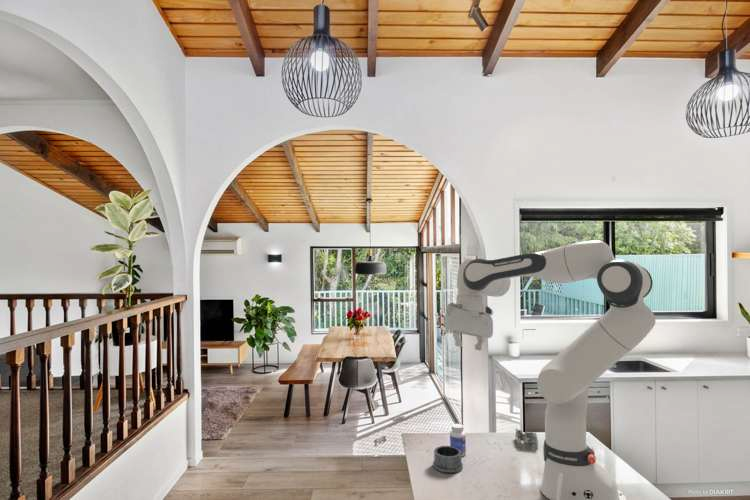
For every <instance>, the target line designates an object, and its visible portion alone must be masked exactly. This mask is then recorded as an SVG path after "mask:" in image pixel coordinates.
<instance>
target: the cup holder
mask: <svg viewBox="0 0 750 500" xmlns="http://www.w3.org/2000/svg"><path fill="white" fill-rule="evenodd" d="M433 457H434V458H433V459H434V460H433V461H432V467H433V469H434V470H435V471H436V472H439V473H441V474H447V475H454V474H458V473H460V472H462V471H463V469H464V467H463V462H462V456H461V451H460V449H458V448H456V447H452V446H450V445H441V446H438V447H436V448H435V449H434V450H433Z"/></svg>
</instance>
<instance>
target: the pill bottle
mask: <svg viewBox="0 0 750 500" xmlns="http://www.w3.org/2000/svg"><path fill="white" fill-rule="evenodd" d="M466 439H467V438H466V432H465V430H464V425H463V424H461V423H453V424H451V431H450V432H449V444H450V445H449V446H452V447H456V448H458V449H460V451H461V457H464V456H465V455H466V454H467V452H466V451H467V446H466V445H467V444H466V443H467V442H466Z"/></svg>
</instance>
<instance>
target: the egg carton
mask: <svg viewBox="0 0 750 500" xmlns="http://www.w3.org/2000/svg"><path fill="white" fill-rule="evenodd" d="M515 440H516V444H517V448H518V447H519V448H518V449H522V450H524V449H525V450H526V449H530V450H531V451H535V450H539V445H538V442H539V440H538V435H537V432H535V431H534V432H531V431H529V432H528V431H525V433H523V432H522V430H521V429H518V428H517V427H516V428H515Z"/></svg>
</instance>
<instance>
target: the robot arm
mask: <svg viewBox="0 0 750 500" xmlns="http://www.w3.org/2000/svg"><path fill="white" fill-rule="evenodd" d="M518 277H528V278H535V279H538V280H542V281H544V282H548V283H550V284H570V283H574V282H575V283H576V282H579V281H583V280H589V279H594V280H596V283H597V285H598V287H599V290H600V291H601V293H602V294H603V296H604V298H605V300H606V301H607V303H608V304H609V305H610V308H609V309H608V310H607V311H606V312H605V313H604V314H603V315H601V316H600V318H597V320H596V321H595V322H594V323H592V324H591V325H590V326H589V327H588V328H586V330H585V331H584V332H582V333H581V334H580V335H579V336H578V337H576V338H575V340H573V341H572V342H571V343H569V345H567V346H566V347H565V348H564V349H562V351H560V352H559V353H558V354H557V355H556V356H555V357H553V358H552V359H551V360H550V361H548V363H546V364H545V366H543V367H542V369H540V372H539V374H538V375H537V380H536V381H537V382H536V386H537V390H538V392H539V394H540V395H541V396H542V398H544V399H545V400H546V401H547V402H546V408H545V412H544V436H545V437H544V438H545V439H544V440H543V445H542V446H543V447H542V448H543V460H544V468H543V476H542V479H541V484H540V487H539V488H540V489H539V490H540V492H541V493H542V494H543V495H544V497H546V498H547V499H549V500H627V497H626V495H625V494H624V493H623V492H622V491H621V490H619V489H618V486H617V482H616V480H615V478H614V476H613V475H612V473H610V471H609V470H606V469H605V468H604V467H603V466H602V465H601V464H599V463H598V462H597V457H596V455H595V451H594V447H593V446H591V447H590V446H589V445H587V412H588V403H589V401H588V400H589V387H590V386H591V385H592V384H593V383H594V382H596V381H597V379H599V378H600V377H601V376H602V375H603V374H605V373H606V372H607V371H608V370H609V369H610V368H611V367H613V366H614V365H616V363H618V362H619V361H620V360H621V359H622V358H624V357H625V356H626V355H627V354H628V353H630V352H631V351H632V350H633V349H634V348H635V347H637V346H638V345H639V344H640V343H641V342H642V341H643V340H644V339H645V338H646V337H647V336H648V334H649V333H650V332H651V331H652V330H653V328H654V327H655V325H656V321H657V320H656V317H655V314H654V312H653V311H652V309H651V308H650V307H649V306H648V305H647V304H646V303H645V300H644V298H646V297H647V296H648V295H649V294H650V292H651V290H652V288H653V278H652V275H651V273H650V271H648V270H647V269H646V268H645V267H643V266H642V265H640V264H638V263H636V262H634V261H630V260H625V259H616V258H615V256H614V254H613V250H612V249H611V247H610V246H609V245H608V244H607V243H606V242H604V241H602V240H589V241H588V240H587V241H579V242H574V243H569V244H566V245H562V246H561V245H560V246H558V247H553V248H550V249H546V250H541V251H535V252H531V253H523V254H519V255H513V256H507V257H501V258H498V259H485V258H484V259H483V258H475V259H468V260H464V261H463V262H461V263H460V265H459V266H458V270H457V278H456V287H457V295H456V303H454V302H449V303H448V304H447V306H446V313H445V316H444V324H443V325H444V328H445V331H448V332H452V337H453V339H454V342H455V343H454V344H455V347H463V340H461V337H460V336H461V335H462V334H463V335H468V336H473V337H476V340H477V342H476V344H474V350H476V351H482V350H483V343H484V342H485V339H491V338H492V337H493V334H494V321H493V317H492V316H493V314H494V312H493V311H494V310H493V309H492V308H491V307H490V306H489V305H487V304H486V303H485V302H484V300H483V299H484V296H485V297H486V296H488V297H494V298H495V297H496V298H498V297H503V296H504V295H505V294H506V293H507V292H508V291H509V289H510V286H511V278H512V279H513V278H518Z"/></svg>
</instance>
